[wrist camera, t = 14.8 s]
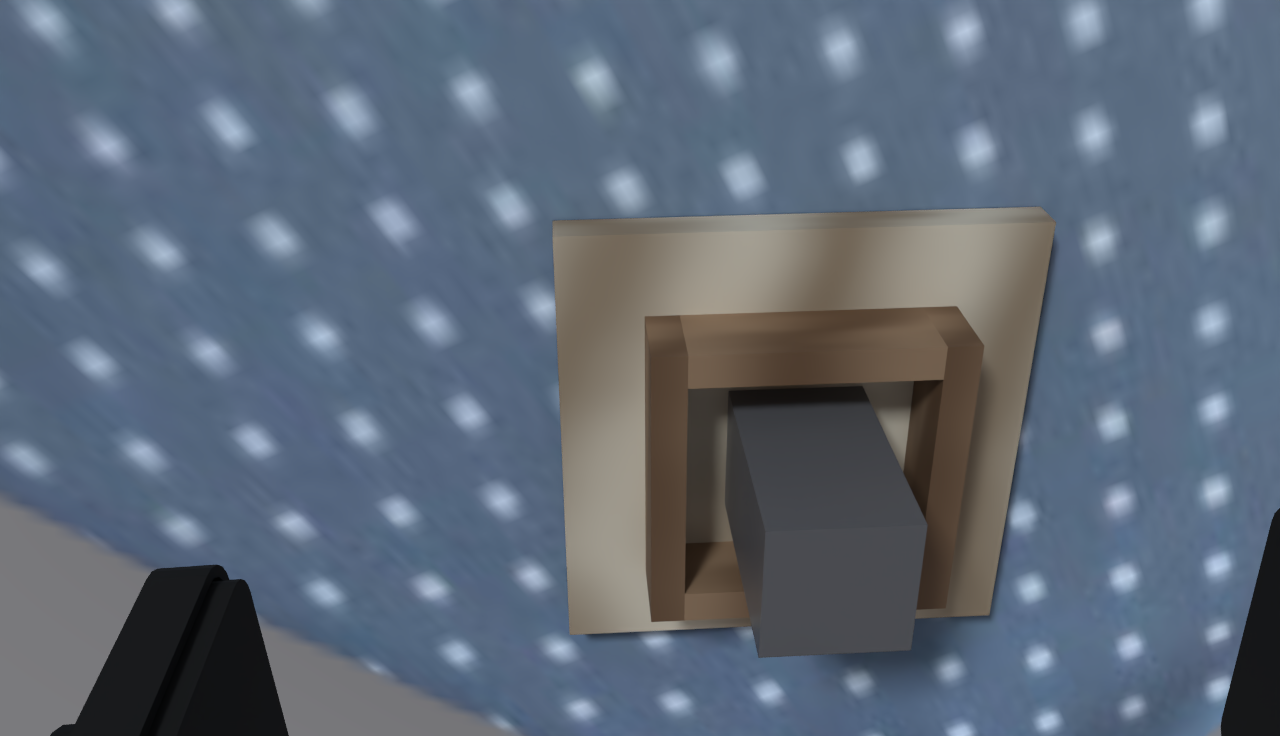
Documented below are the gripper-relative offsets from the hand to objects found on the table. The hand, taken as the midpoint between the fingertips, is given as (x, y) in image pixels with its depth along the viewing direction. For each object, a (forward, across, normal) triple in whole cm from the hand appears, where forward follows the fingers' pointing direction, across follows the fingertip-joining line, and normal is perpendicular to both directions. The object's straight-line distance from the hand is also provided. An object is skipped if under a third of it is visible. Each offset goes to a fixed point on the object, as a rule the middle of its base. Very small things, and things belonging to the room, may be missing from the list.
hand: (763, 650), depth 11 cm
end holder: (+23, -4, +12) cm, 27 cm away
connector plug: (+22, -4, +12) cm, 25 cm away
